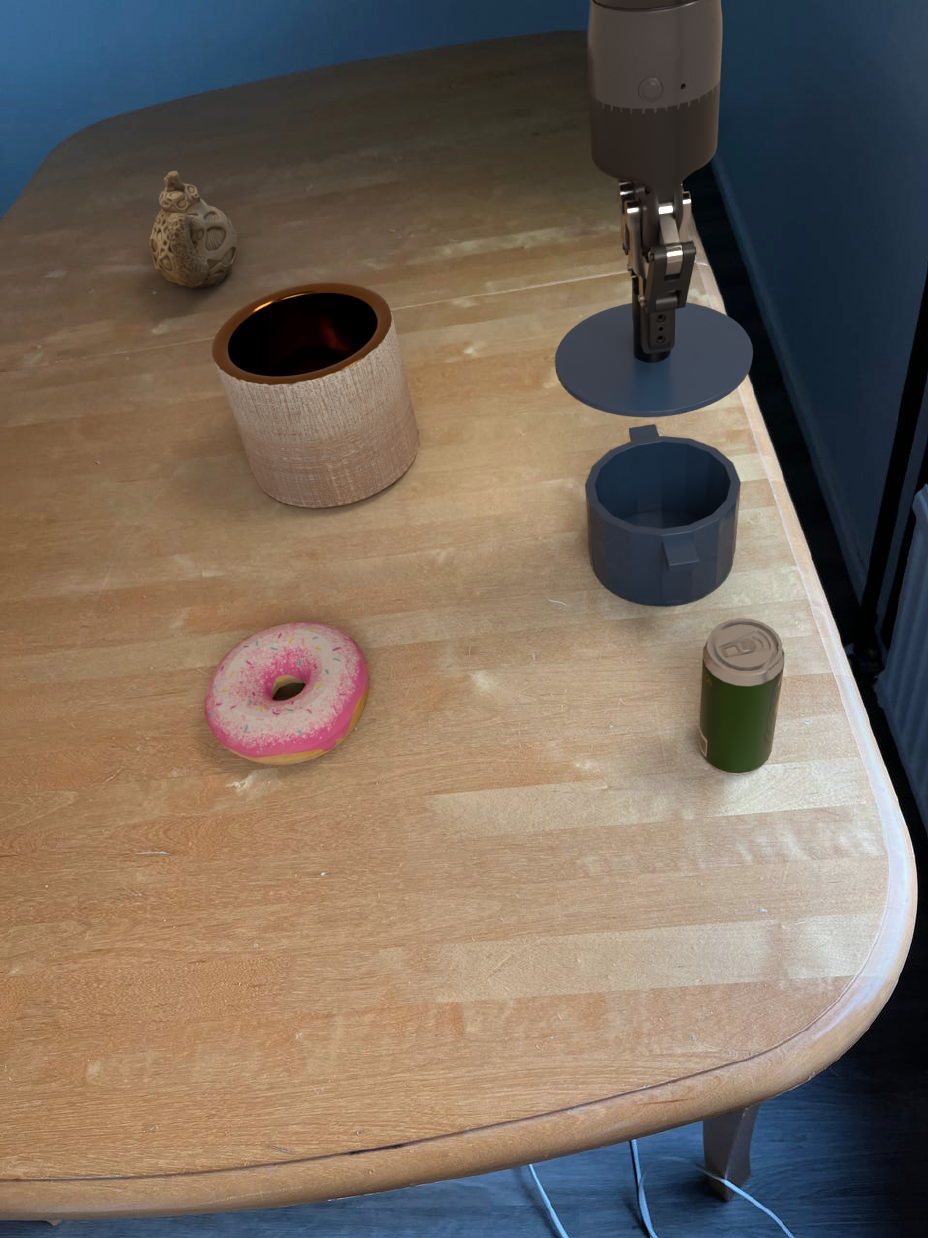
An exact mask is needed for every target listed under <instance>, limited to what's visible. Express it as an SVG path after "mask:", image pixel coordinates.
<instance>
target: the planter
mask: <svg viewBox="0 0 928 1238" xmlns="http://www.w3.org/2000/svg"><path fill="white" fill-rule="evenodd" d="M399 343H400V342H399V339H398V335H397V329H396V325H395V319H394V315H393V311H392V309H391V306H390V304H389V303H388V301H387V300H386V299H385V298H384V297H383V296H382V295H381V294H379V293H378V292H376V291H374V290H372V289H370V288H368V287H365V286H362V285H359V284H355V283H354V284H353V283H348V282H340V281H339V282H337V281H323V282H322V281H321V282H312V283H304V284H303V283H302V284H299V285H294V286H290V287H286V288H283V289H279V290H276V291H273V292H271V293H268V294H265V295H263V296H261V297H258V298H257V299H254V300H253V301H250V302H249V303H247V304H246V305H243V307H241V308H239V309H237V311H235V312H234V313H233V314H232V315H231V316H229V317H228V318H227V319H226V320H225V321H224V322H223V323H222V325H220V327H219V328H218V330H217V332H216V333H215V334H214V337H213V340H212V343H211V356H212V360H213V363H214V366H215V368H216V369H215V370H216V372H217V374H218V378H219V380H220V383H221V386H222V388H223V391H224V394H225V397H226V399H227V403H228V405H229V408H230V411H231V414H232V417H233V420H234V423H235V426H236V429H237V432H238V436H239V438H240V441H241V444H242V446H243V449H244V452H245V455H246V458H247V462H248V464H249V466H250V469H251V472H252V475H253V476H254V479H255V481H256V483H257V485H258V486H259V487H260V488H261V490H262V491H263V492H264V493H265V494H267V495H268V496H269V497H271V498H272V499H274V500H276V501H277V502H279V503H283V504H284V505H289V506H292V507H296V508H301V509H311V510H312V509H313V510H314V509H319V510H321V509H334V508H339V507H345V506H349V505H354V504H357V503H360V502H362V501H365V500H367V499H370V498H372V497H374V496H376V495H378V494H380V493H382V492H383V491H385V490H386V489H388V488H389V487H390V486H392V485H394V484H395V483H396V482H397V481H399V479H400V478H401V477H402V476H403V475H404V474H405V473H406V472H407V471H408V470H409V468H411V465H412V464H413V462H414V460H415V459H416V455H417V453H418V449H419V440H420V439H419V430H418V424H417V420H416V415H415V410H414V406H413V401H412V396H411V392H410V388H409V384H408V380H407V375H406V371H405V365H404V362H403V357H402V353H401V348H400V344H399Z"/></svg>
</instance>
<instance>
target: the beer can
mask: <svg viewBox="0 0 928 1238" xmlns="http://www.w3.org/2000/svg"><path fill="white" fill-rule="evenodd" d="M702 648H703V649H702V663H701V665H702V666H701V681H700V682H701V683H700V703H699V704H700V705H699V721H698V739H697V746H698V749H699V753H700V755H701V756H702V757H703V758H704V760H705V761H706V762H707V764H708V765H709V766H710V767H712V768H713V769H714V770H715V771H717V772H719V773H722V774H725V775H727V776H738V777H739V776H745V775H750V774H751V773H754V772H755V771H757V770H758V769H760V768H761V767H762V766H763V765H764V764H765V763H766V762H767V761H768V760H769V759H770V756H771V753H772V750H773V743H774V736H775V729H776V723H777V716H778V709H779V701H780V696H781V689H782V683H783V674H784V668H785V651H784V648H783V641H782V639H781V637H780V635H779V634H778V633H777V632H776V630H775V629H773V628H772V626H770V625H768V624H766V623H764V622H763V621H760V620H756V619H753V618H743V617H738V618H732V619H728V620H726V621H723V622H721V623H719V624H718V625H716V626H715V627H713V629H712V630H711V631H710V633H709V634H708V637H707V640H706V642H705V644H704V645H703V647H702Z"/></svg>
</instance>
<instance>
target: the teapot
mask: <svg viewBox="0 0 928 1238" xmlns="http://www.w3.org/2000/svg"><path fill="white" fill-rule="evenodd" d="M163 181H164V184H165V187H164V189H163V190H161V192H160V193H159V198H158V202H159V205H160V208H161V209H160V210H159V212H158V214H157V215H156V217H155V221H154V224H153V226H152V229H151V235H150V237H149V244H148V247H149V250H150V253H151V258H152V261H153V266H154V270H155V271H156V272H157V274H158V275H160V276H161V278H163V279H164V280H166V281H168V282H169V283H172V284H176V285H178V286H179V285H180V286H182V287H186V288H190V289H193V290H194V289H195V290H196V289H203V288H208V287H213V286H216V285H219V284H220V283H221V282H222V281H224V279H225V277H226V276H227V275H228V274H229V272H230V271H231V269H232V267H233V264H234V262H235V261H236V258H237V256H238V254H239V238H238V234H237V233H236V230H235V228H234V226H233V224H232V222H231V220H230V219H229V217H228V216H226V214H225V213H224V212H223V211H222V210H220V209H218V208H217V207H216V206H212V205H209V204H208V203H207V202H206V201H205V200H204V199H203V198H202V197H201V194H200V192H199V191H198V188H197V187H196V185H193V184H190V183H184V182H183V181H182V179H181V177H180V175H179V172H178V171H177V170H172V171H169V172H168V173H167V174H166V176H165V177H164V178H163Z"/></svg>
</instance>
